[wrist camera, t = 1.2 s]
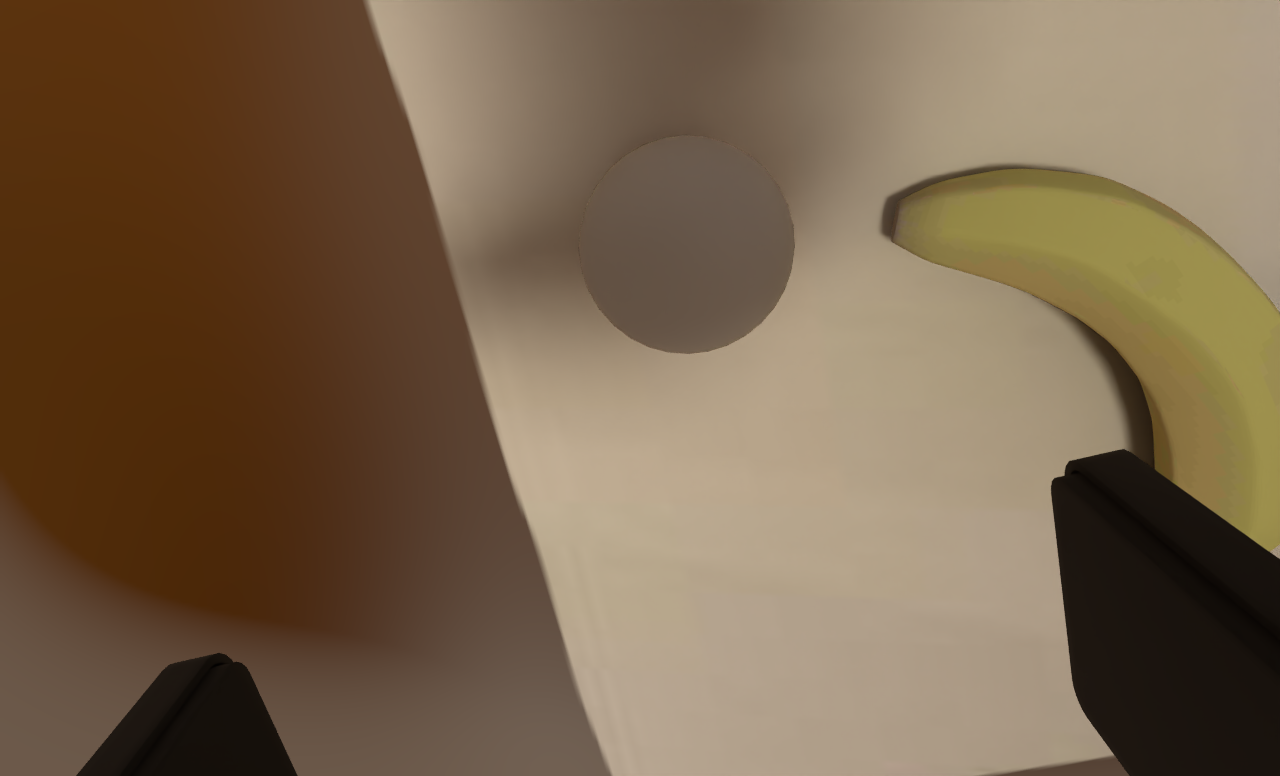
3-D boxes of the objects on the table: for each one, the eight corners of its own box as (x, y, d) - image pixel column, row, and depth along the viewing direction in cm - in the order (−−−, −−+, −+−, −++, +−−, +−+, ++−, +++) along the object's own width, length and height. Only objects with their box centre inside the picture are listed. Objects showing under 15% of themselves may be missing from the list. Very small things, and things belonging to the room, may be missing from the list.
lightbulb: (696, 91, 31) (728, 88, 21) (787, 232, 33) (858, 296, 22) (559, 191, 32) (523, 236, 22) (653, 323, 34) (661, 424, 24)
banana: (1385, 141, 25) (1316, 667, 33) (1302, 103, 30) (1260, 572, 38) (888, 217, 29) (938, 669, 37) (884, 174, 34) (930, 583, 42)
